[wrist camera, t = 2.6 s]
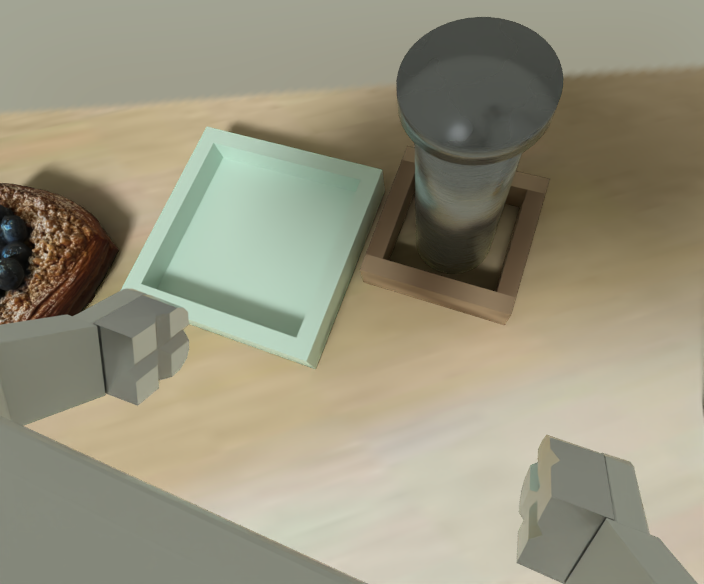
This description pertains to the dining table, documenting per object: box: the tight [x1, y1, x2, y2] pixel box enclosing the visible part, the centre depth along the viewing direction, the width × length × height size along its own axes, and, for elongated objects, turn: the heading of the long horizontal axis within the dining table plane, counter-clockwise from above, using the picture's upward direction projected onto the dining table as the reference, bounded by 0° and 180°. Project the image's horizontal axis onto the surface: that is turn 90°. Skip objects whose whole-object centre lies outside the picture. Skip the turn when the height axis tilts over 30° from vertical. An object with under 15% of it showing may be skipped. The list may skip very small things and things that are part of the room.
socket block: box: [360, 146, 550, 325], centre depth 28 cm, size 8×8×2 cm
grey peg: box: [397, 17, 563, 274], centre depth 23 cm, size 6×6×13 cm
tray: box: [121, 127, 385, 369], centre depth 29 cm, size 12×12×2 cm
